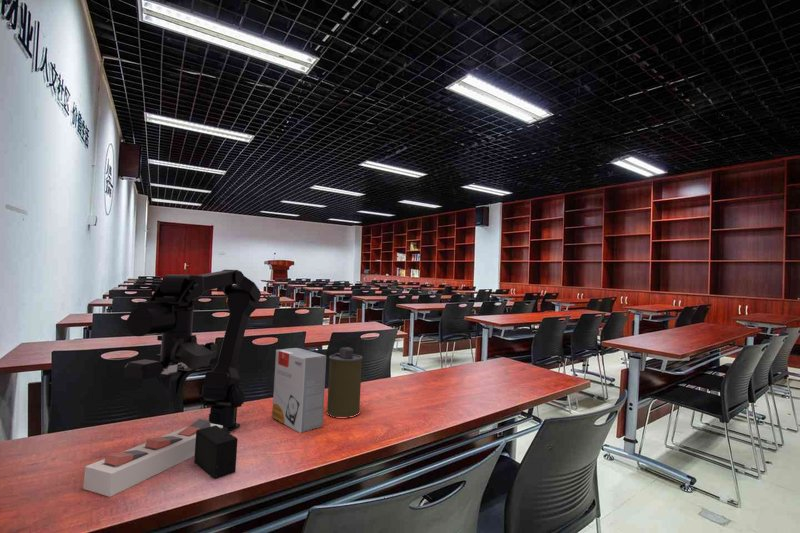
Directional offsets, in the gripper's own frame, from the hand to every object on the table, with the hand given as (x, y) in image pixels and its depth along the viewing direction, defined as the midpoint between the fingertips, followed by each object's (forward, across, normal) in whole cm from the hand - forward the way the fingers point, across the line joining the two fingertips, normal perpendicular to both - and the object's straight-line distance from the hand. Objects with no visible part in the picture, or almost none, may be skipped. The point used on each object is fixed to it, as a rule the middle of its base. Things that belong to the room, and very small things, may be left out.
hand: (172, 402), depth 82 cm
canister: (+13, +44, -20) cm, 50 cm away
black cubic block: (+12, +2, -12) cm, 17 cm away
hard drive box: (+13, +30, -12) cm, 35 cm away
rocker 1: (+8, -10, 0) cm, 13 cm away
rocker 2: (+8, -2, 0) cm, 9 cm away
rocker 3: (+8, +6, 0) cm, 11 cm away
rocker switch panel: (+12, 0, 0) cm, 12 cm away
